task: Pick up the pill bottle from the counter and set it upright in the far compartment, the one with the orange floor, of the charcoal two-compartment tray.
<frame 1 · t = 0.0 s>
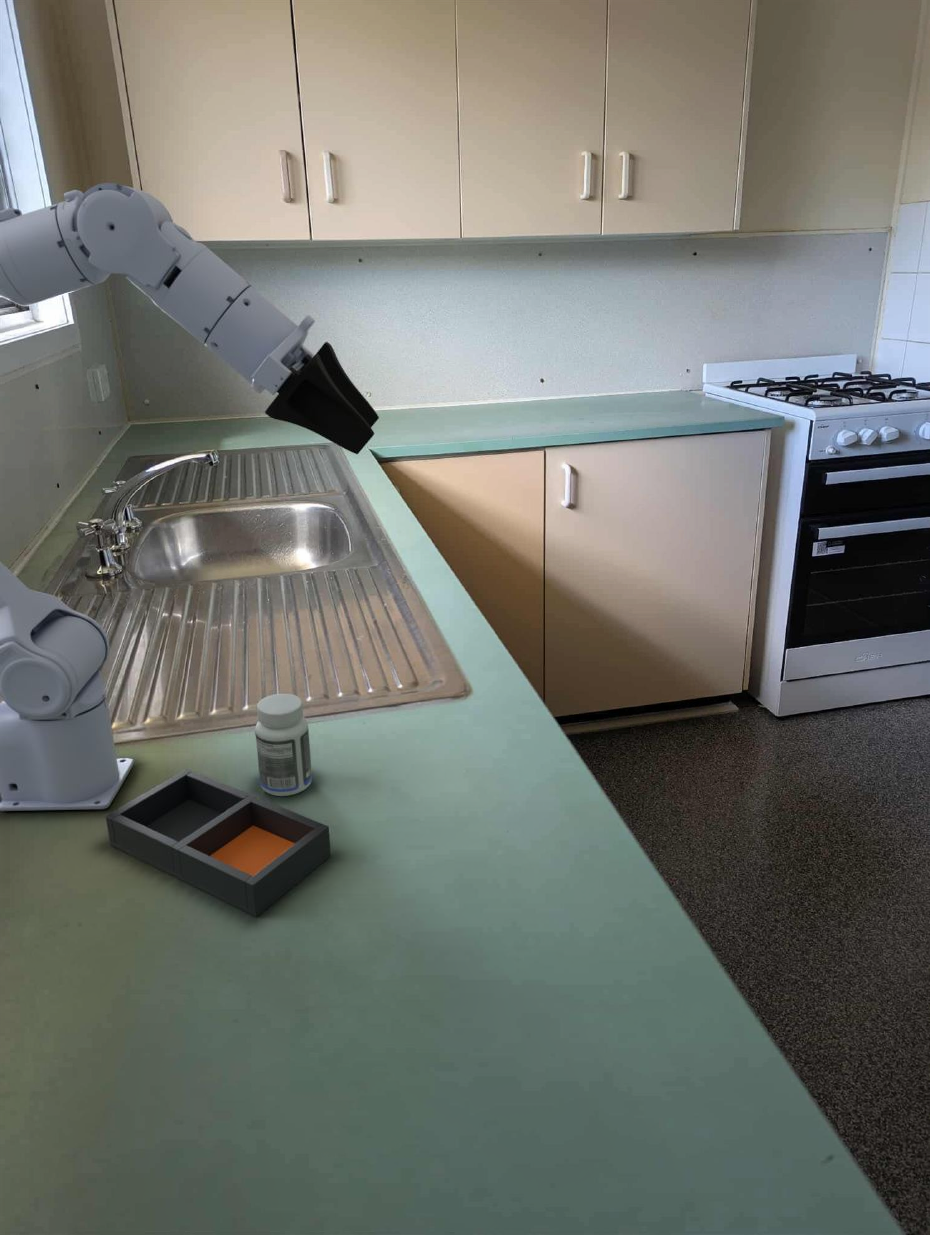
hand: (368, 435, 70), 32 cm above the worktop, tool tilted 50°, fingers open, 7 cm apart
tray: (219, 850, 72), on the worktop
pill bottle: (286, 785, 81), on the worktop
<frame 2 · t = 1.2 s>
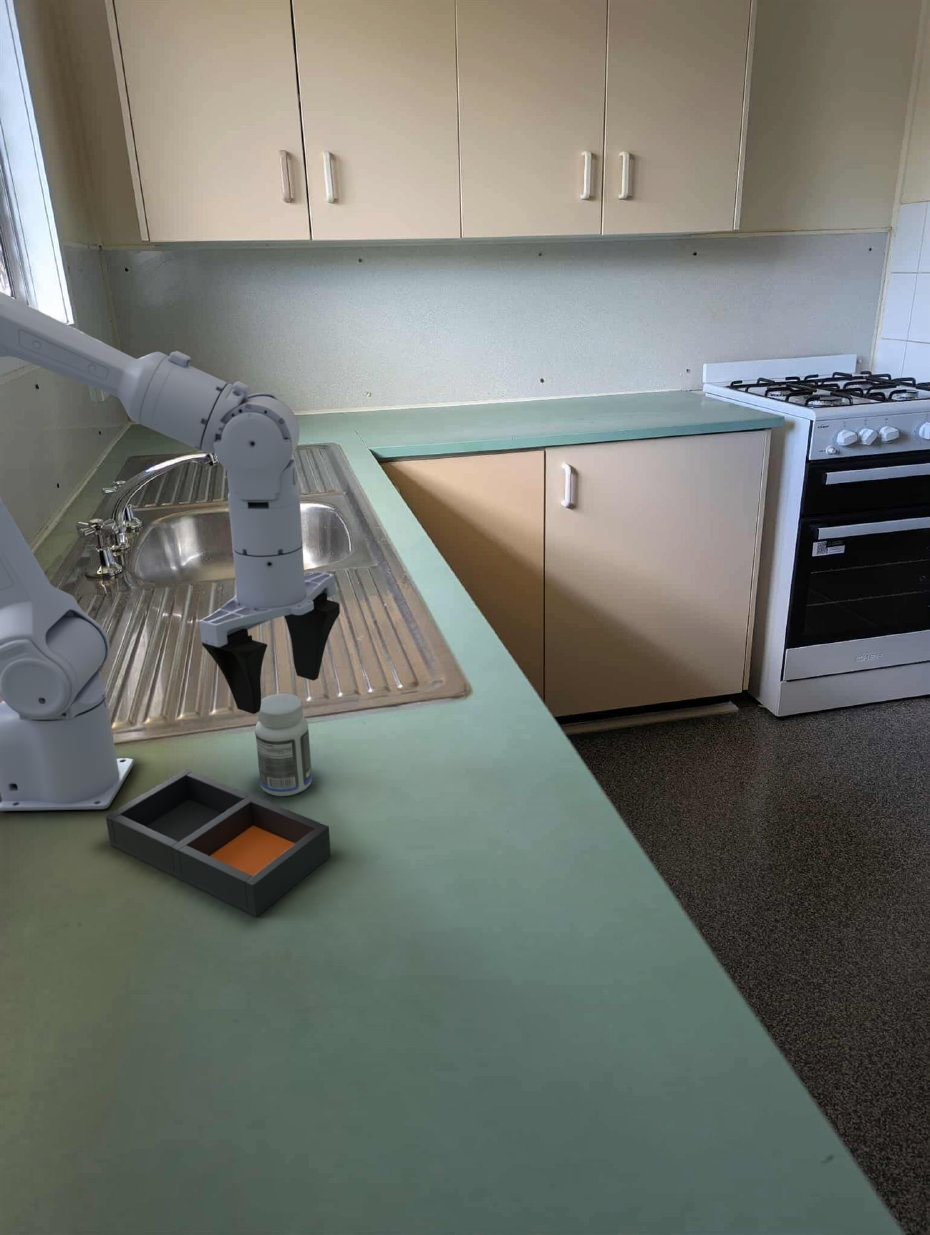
hand: (279, 692, 78), 9 cm above the worktop, tool pointing down, fingers open, 7 cm apart
nothing on the worktop moved.
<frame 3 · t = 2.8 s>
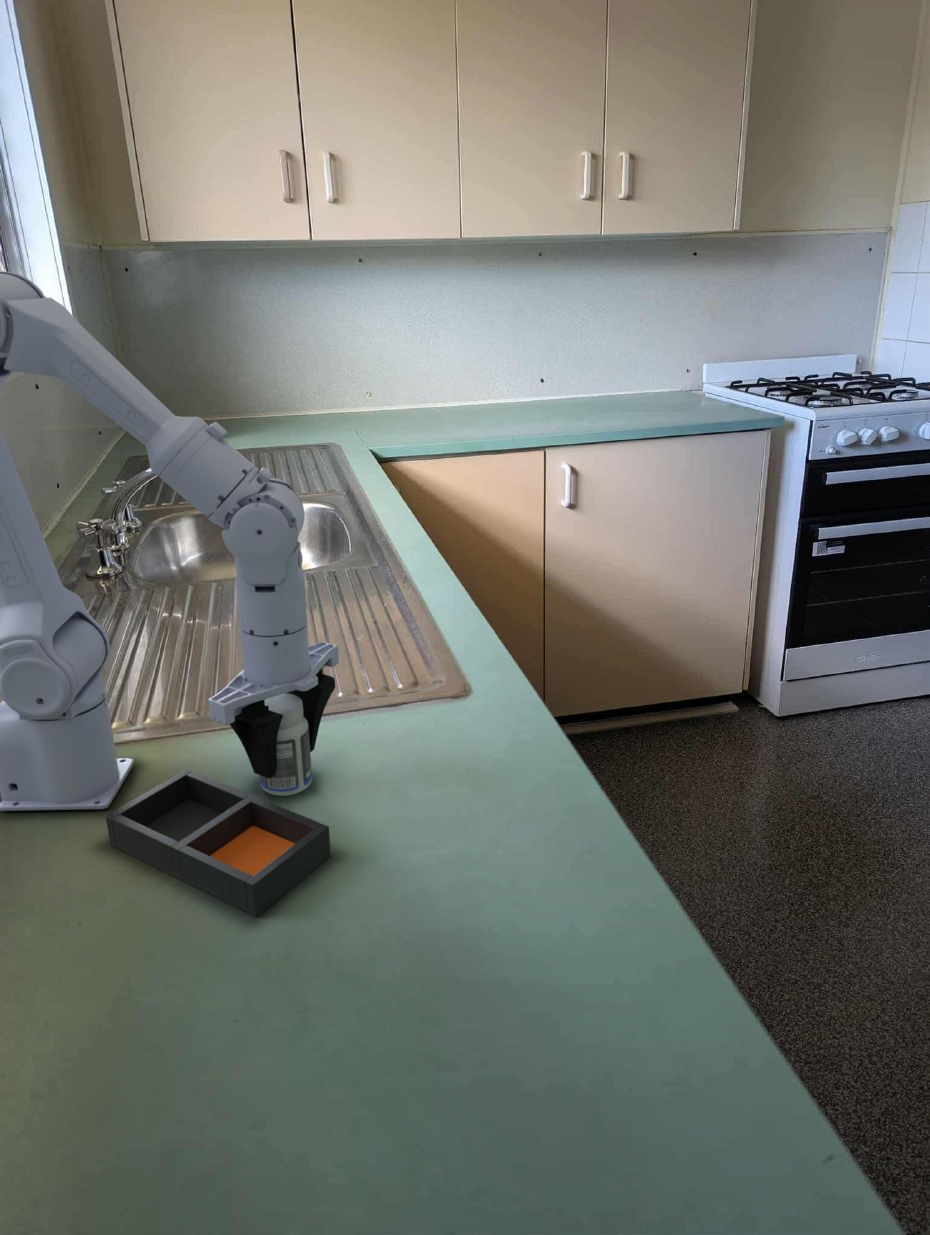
hand: (284, 761, 80), 2 cm above the worktop, tool pointing down, fingers closed on pill bottle, 5 cm apart
pill bottle: (286, 785, 81), on the worktop, touching gripper
when the fingers open (3 cm above the worktop, at t = 6.9 s): pill bottle stays where it is, resting on tray.
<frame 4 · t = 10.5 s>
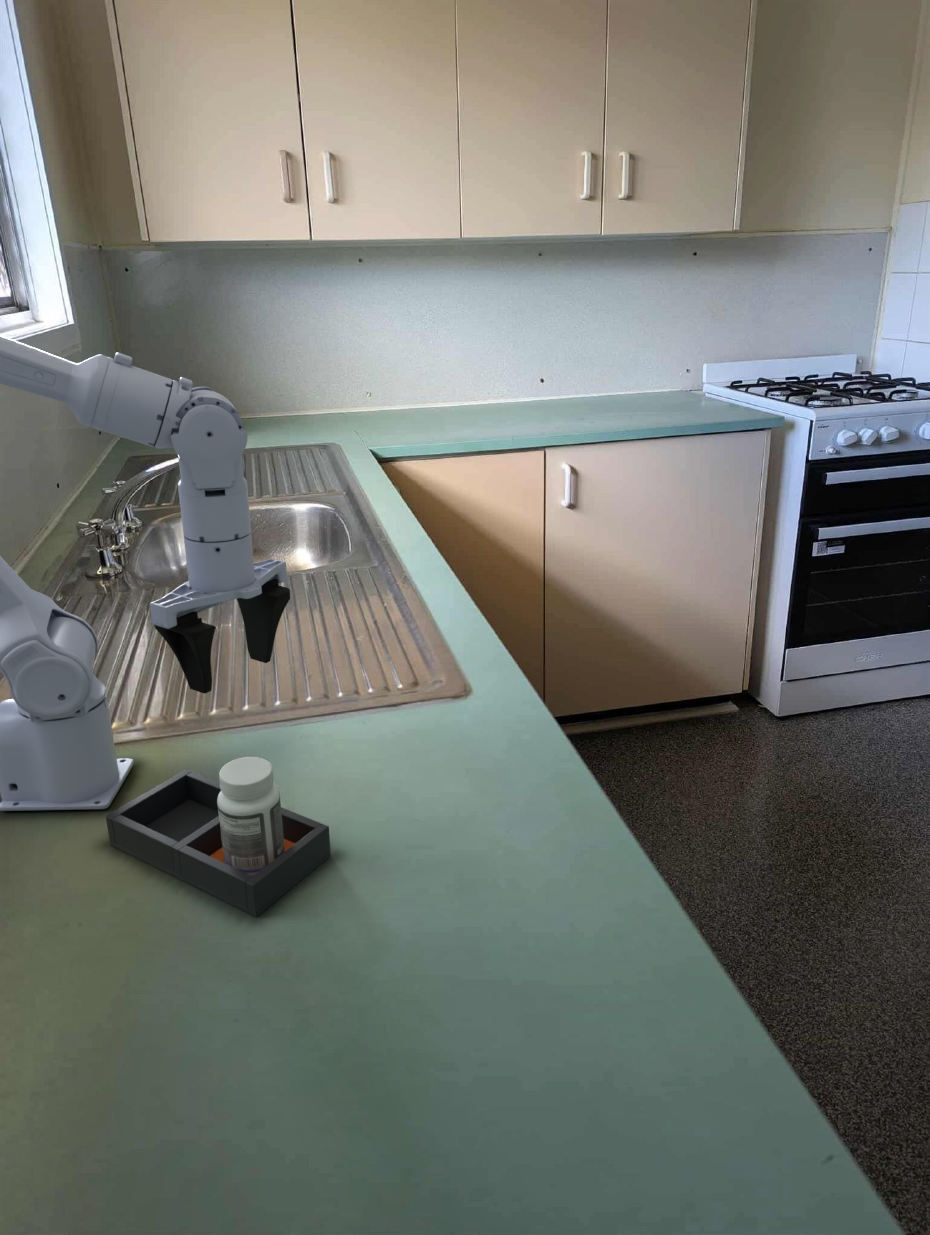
hand: (231, 674, 81), 9 cm above the worktop, tool pointing down, fingers open, 7 cm apart
pill bottle: (255, 862, 70), resting on tray
at the end: pill bottle 0.1 cm from the target spot in the tray, point 0.4 cm above the tray's base; pill bottle tilted 0°; the gripper is holding nothing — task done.
